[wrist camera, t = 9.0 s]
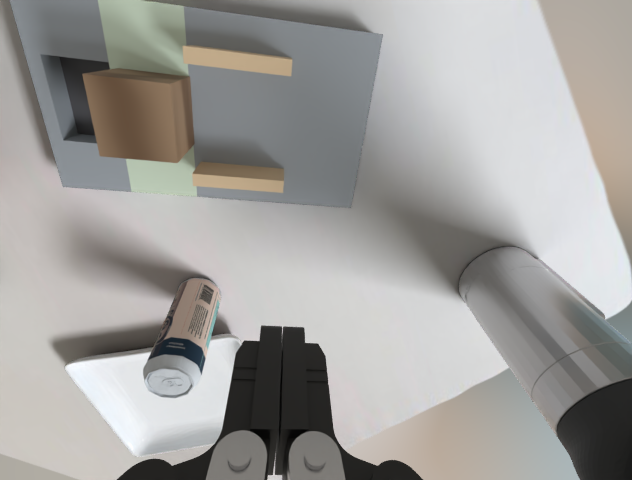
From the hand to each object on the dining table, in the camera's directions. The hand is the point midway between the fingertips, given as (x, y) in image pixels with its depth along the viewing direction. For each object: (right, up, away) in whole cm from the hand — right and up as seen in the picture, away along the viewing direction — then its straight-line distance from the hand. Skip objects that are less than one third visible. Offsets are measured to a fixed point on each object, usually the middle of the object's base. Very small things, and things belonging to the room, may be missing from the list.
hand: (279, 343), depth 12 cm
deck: (-8, +15, +17) cm, 23 cm away
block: (-11, +14, +14) cm, 22 cm away
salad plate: (-17, -16, +35) cm, 42 cm away
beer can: (-12, -2, +26) cm, 29 cm away
